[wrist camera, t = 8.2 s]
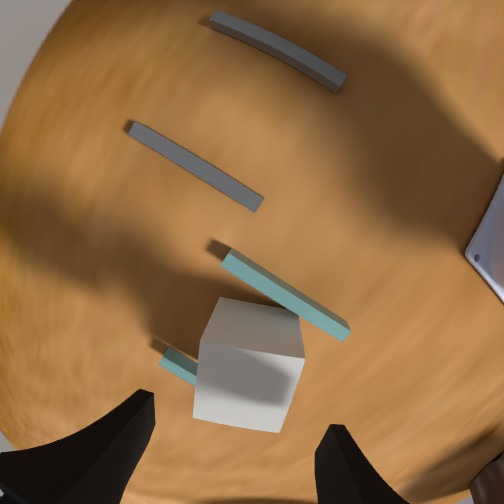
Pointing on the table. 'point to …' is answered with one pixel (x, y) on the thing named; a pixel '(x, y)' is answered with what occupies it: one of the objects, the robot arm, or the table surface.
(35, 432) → the table surface
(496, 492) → the plant pot
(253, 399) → the grey cube
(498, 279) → the robot arm
